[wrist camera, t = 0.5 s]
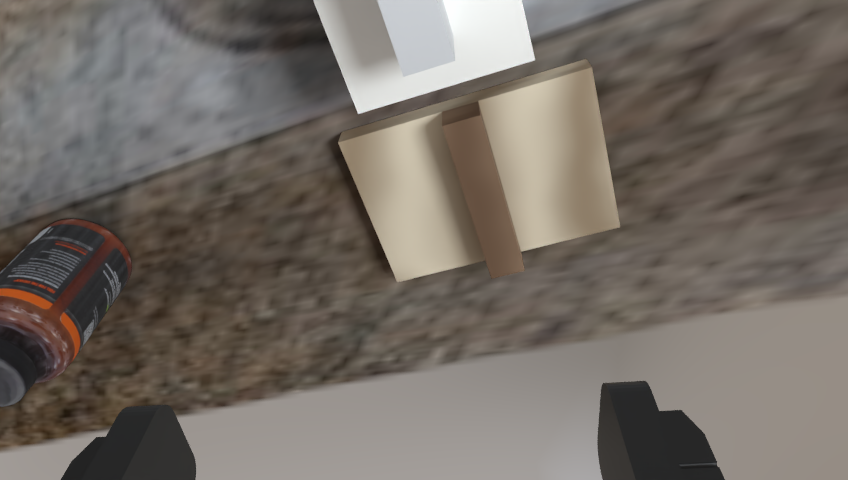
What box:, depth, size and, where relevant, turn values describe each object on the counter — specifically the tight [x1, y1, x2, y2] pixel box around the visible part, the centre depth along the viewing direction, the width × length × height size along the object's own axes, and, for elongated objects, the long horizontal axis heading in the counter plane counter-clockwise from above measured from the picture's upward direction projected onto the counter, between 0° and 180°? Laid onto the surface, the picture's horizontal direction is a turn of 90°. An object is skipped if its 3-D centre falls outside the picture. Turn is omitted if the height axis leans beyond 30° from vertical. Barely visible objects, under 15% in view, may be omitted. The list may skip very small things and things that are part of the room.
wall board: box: [338, 59, 620, 282], centre depth 35 cm, size 14×10×4 cm
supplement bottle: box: [0, 219, 132, 407], centre depth 36 cm, size 6×6×11 cm
